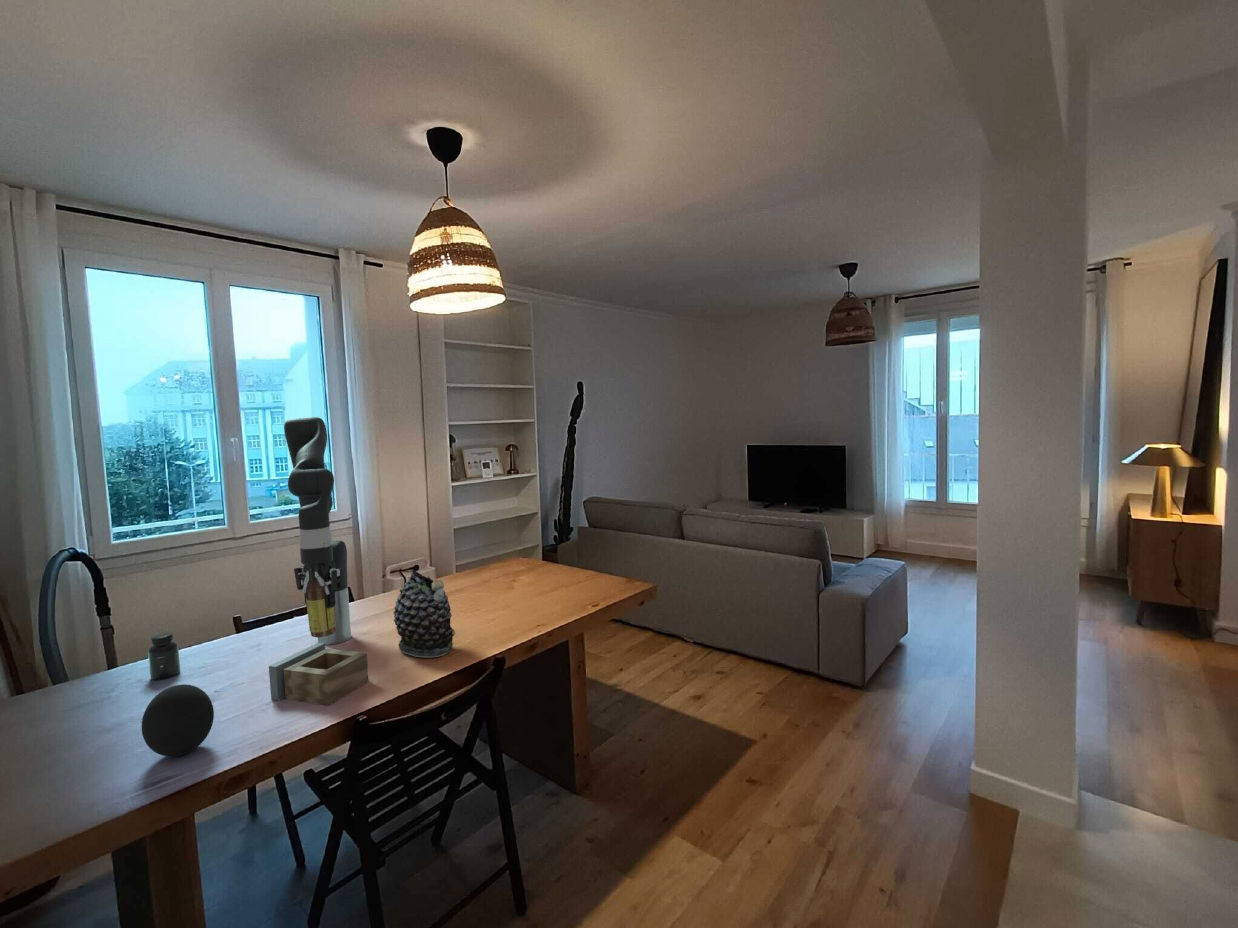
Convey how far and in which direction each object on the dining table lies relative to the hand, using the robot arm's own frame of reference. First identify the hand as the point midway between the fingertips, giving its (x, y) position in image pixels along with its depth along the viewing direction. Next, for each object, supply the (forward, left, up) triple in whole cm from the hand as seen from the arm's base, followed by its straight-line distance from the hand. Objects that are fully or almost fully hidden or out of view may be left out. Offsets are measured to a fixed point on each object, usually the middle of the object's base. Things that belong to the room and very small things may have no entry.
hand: (320, 606), depth 150 cm
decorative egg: (-8, -32, -23) cm, 40 cm away
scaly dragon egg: (+10, +29, -23) cm, 38 cm away
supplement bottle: (-55, -4, -23) cm, 60 cm away
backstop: (-9, 0, -23) cm, 25 cm away
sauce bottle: (0, 0, -8) cm, 8 cm away
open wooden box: (+1, 0, -23) cm, 23 cm away
